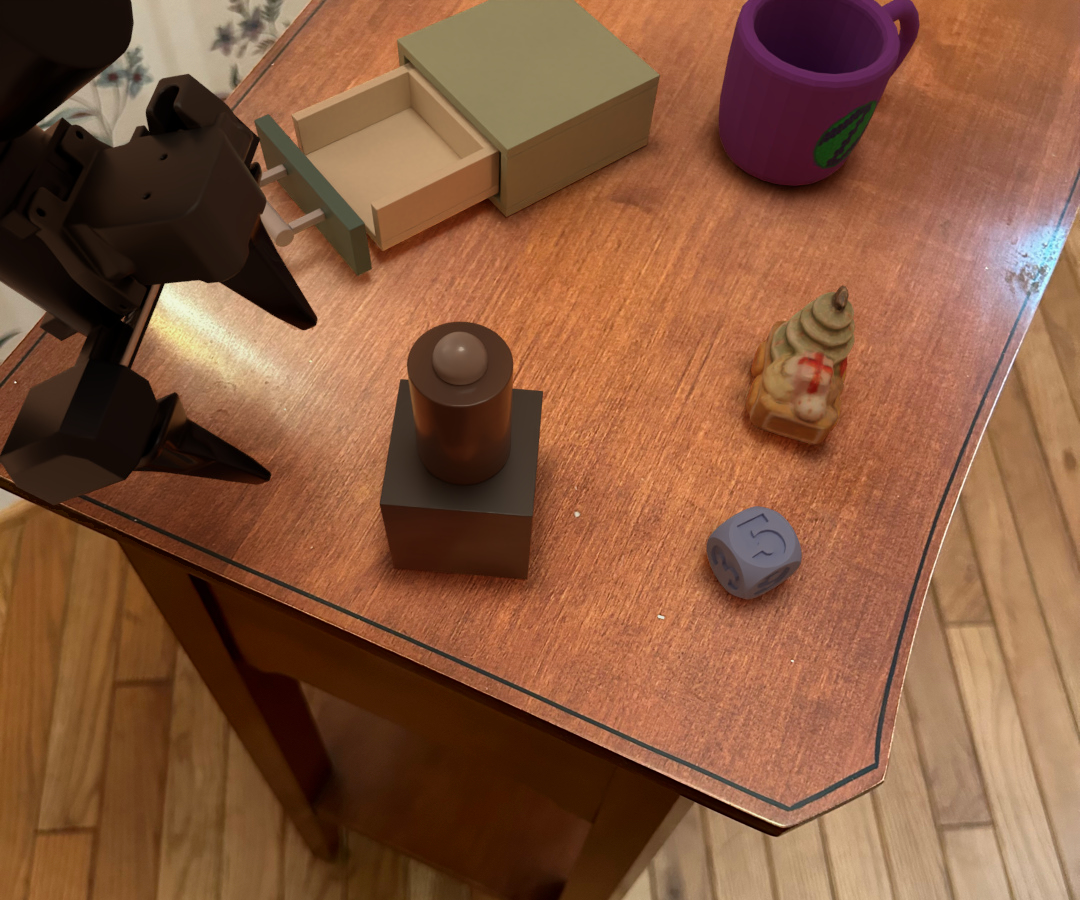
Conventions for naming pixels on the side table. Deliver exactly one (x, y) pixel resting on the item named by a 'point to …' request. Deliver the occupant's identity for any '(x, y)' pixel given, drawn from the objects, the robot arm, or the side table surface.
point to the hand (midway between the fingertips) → (289, 399)
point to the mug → (808, 82)
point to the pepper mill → (461, 401)
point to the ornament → (803, 370)
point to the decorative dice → (753, 552)
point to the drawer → (376, 165)
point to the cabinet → (538, 90)
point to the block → (462, 501)
